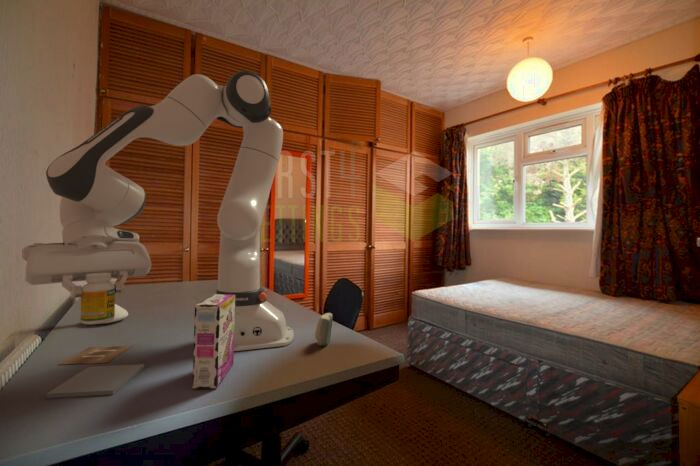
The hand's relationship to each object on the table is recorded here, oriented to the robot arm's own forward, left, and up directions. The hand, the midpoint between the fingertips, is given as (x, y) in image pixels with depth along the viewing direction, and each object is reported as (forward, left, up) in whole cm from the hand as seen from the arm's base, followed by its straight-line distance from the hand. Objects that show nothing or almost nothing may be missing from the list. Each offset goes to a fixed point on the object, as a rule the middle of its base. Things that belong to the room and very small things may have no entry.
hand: (99, 293), depth 61 cm
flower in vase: (+22, -41, -18) cm, 50 cm away
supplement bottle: (+1, 0, -6) cm, 6 cm away
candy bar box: (-23, +1, -18) cm, 29 cm away
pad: (-1, +1, -18) cm, 18 cm away
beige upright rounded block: (-47, -15, -18) cm, 52 cm away
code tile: (+8, -13, -18) cm, 24 cm away
